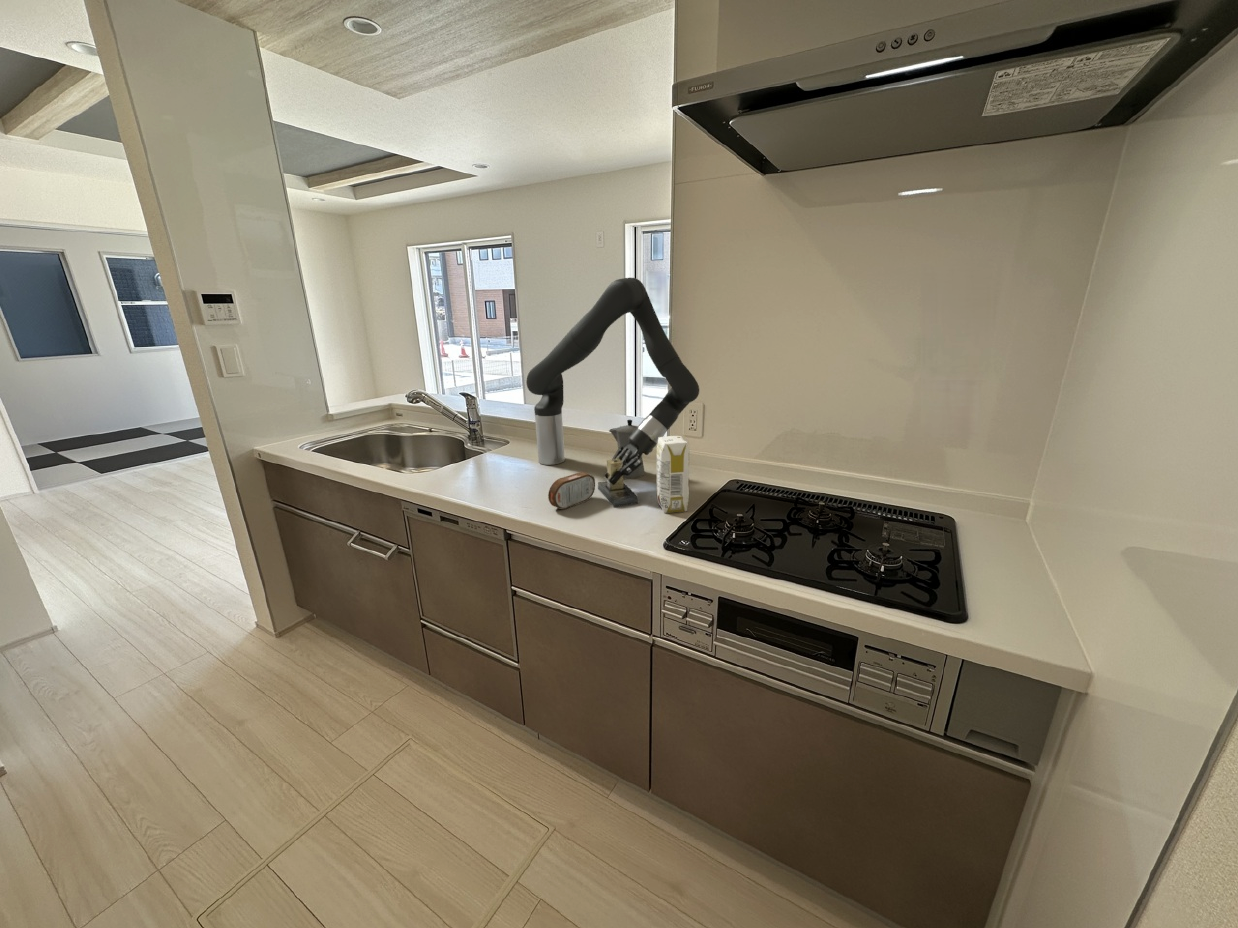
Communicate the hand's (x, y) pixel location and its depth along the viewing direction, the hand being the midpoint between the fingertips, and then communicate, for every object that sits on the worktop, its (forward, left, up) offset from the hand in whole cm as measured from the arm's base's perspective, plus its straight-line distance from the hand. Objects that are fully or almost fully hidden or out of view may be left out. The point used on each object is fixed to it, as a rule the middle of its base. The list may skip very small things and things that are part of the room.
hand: (608, 480), depth 139 cm
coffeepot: (-14, +13, -5) cm, 20 cm away
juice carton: (+15, +13, -5) cm, 20 cm away
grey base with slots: (+1, +2, -5) cm, 5 cm away
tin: (+3, -11, -5) cm, 12 cm away
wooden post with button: (0, +2, -5) cm, 5 cm away
